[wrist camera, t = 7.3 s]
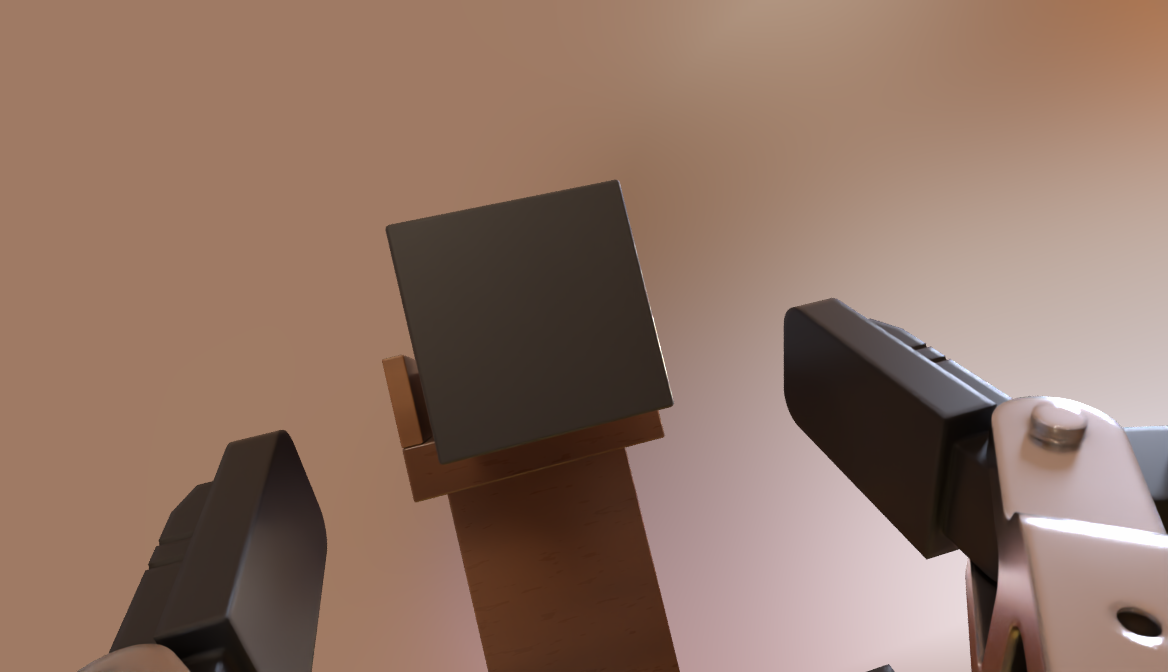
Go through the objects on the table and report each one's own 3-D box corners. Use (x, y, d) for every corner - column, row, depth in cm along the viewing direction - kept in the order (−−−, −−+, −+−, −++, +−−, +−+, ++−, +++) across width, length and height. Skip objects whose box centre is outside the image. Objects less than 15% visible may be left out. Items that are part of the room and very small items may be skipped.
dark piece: (471, 417, 31) (450, 330, 31) (557, 395, 31) (536, 310, 31) (439, 466, 11) (383, 224, 11) (675, 406, 12) (619, 178, 12)
